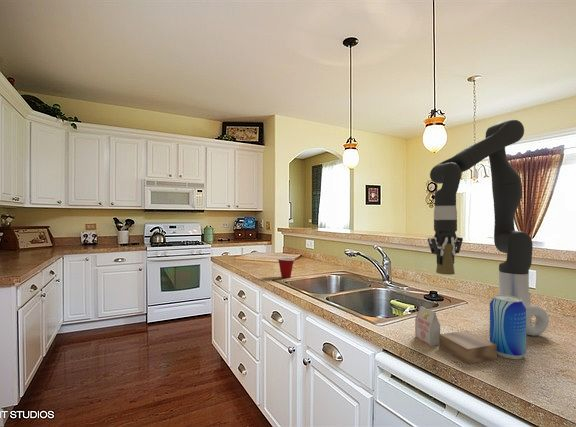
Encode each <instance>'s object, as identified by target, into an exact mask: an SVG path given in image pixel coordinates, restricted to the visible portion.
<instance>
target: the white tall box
mask: <svg viewBox="0 0 576 427" xmlns="http://www.w3.org/2000/svg"><path fill="white" fill-rule="evenodd" d="M437 316H438V315H437V313H436V312H435V311H432V310H431V309H428V308H427V307H424V306H422V305H419V307H418V311H417V313H416V316H415V319H414V320H415V325H414V326H415V329H414V330H415V331H414V334H415V336H414V337H415V338H416V339H418V340H420V341H421V342H423V343H424V344H426V345H428V346H429V347H431V346H439V334H441V323H440V322H439V319H438V317H437Z"/></svg>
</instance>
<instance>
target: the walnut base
mask: <svg viewBox="0 0 576 427" xmlns="http://www.w3.org/2000/svg"><path fill="white" fill-rule="evenodd" d="M438 347H439V349H441V350H442V351H444V352H446V353H448V354H449V355H452V356H453V357H455V358H456V359H459V360H460V361H462V363H465V364H467V365H470V364H475V363H476V364H477V363H481V362H486V361H492V360H493V361H494V360H497V359H498V358H497V344H494V343H492V342H490V340H488V339H486V338H483V337H481V336H479V335H476V334H474V333H472V332H470V331H468V330H462V331H460V330H459V331H453V332H447V333H440V334H439V345H438Z"/></svg>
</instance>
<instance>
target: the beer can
mask: <svg viewBox="0 0 576 427" xmlns="http://www.w3.org/2000/svg"><path fill="white" fill-rule="evenodd" d="M489 341H490V342H492V343H494V344H497V355H498V356H500V357H502V358H506V359H510V360H521V359H523V358H524V357H525V356H526V355H527V334H526V307H525V306H524V304H523V303H522V299H520V298H518V297H514V296H509V295H499V294H494V295H493V298H492V299H491V301H490V302H489Z"/></svg>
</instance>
